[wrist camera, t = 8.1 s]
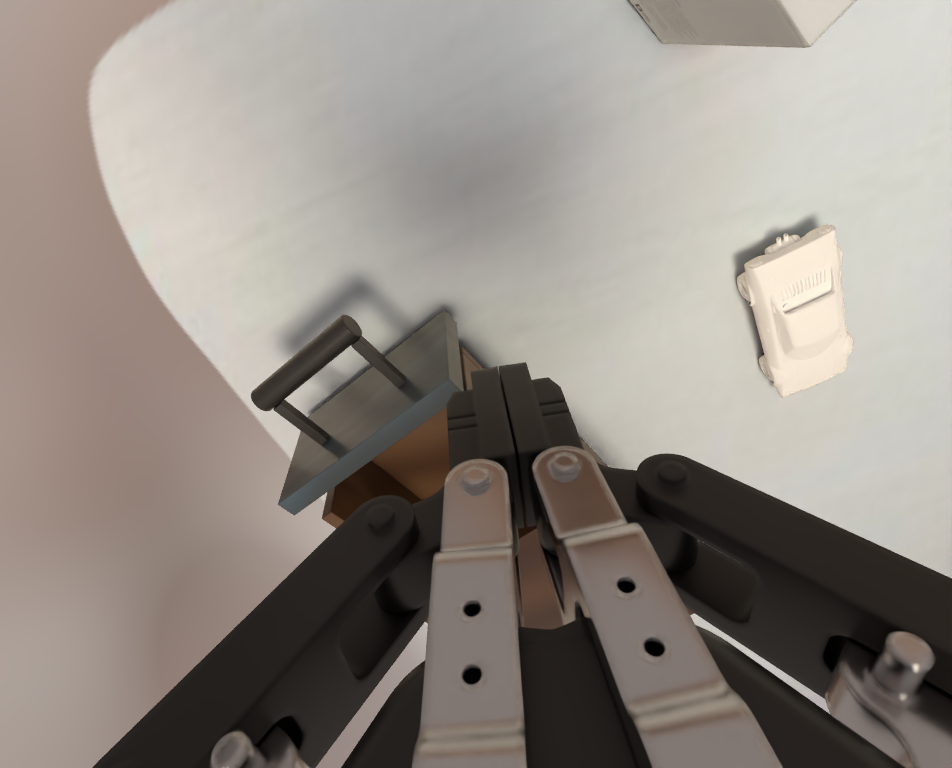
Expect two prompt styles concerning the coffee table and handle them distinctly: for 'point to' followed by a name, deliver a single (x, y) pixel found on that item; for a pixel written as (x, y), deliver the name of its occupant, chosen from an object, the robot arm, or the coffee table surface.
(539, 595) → the cabinet
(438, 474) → the drawer
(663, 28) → the cosmetic box
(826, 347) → the toy car
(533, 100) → the coffee table surface
